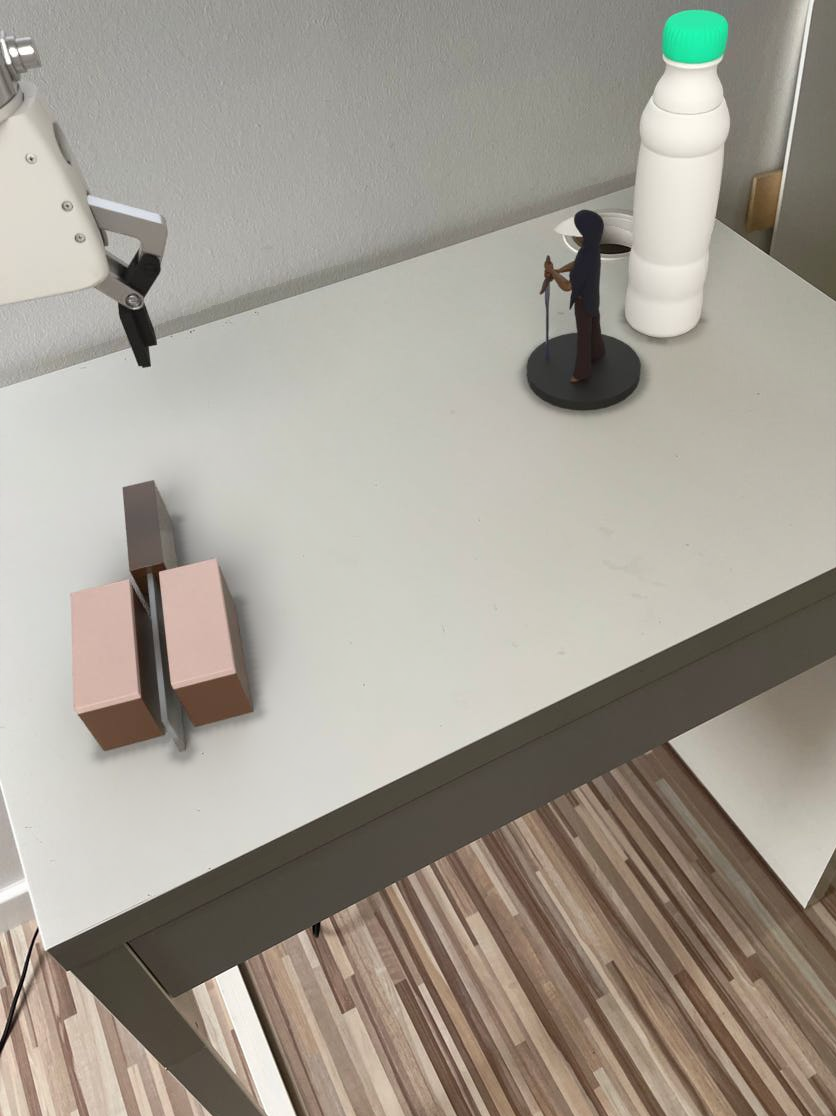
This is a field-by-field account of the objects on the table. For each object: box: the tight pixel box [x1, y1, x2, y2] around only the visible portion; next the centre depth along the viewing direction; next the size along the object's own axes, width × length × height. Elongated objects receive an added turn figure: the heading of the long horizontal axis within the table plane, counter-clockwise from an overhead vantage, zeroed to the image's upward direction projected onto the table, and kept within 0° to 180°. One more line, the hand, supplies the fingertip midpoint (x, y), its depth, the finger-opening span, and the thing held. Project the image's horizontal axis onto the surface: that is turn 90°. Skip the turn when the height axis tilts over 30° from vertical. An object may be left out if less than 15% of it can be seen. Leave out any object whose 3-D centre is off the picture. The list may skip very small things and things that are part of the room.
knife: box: [122, 479, 186, 753], centre depth 66 cm, size 22×2×4 cm, turn 17°
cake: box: [70, 557, 254, 752], centre depth 63 cm, size 10×10×5 cm
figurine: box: [526, 209, 642, 411], centre depth 77 cm, size 10×10×15 cm
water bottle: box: [624, 9, 731, 339], centre depth 78 cm, size 7×7×25 cm
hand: (67, 370), depth 59 cm, fingers open, 9 cm apart
